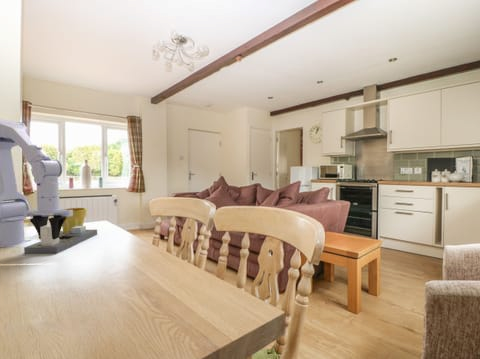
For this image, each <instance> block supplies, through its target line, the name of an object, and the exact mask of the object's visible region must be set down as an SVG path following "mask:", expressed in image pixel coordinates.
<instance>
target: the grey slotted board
mask: <svg viewBox="0 0 480 359" xmlns="http://www.w3.org/2000/svg"><path fill="white" fill-rule="evenodd" d="M97 235H98V229H86V232H84V233H81V234H71V230H70V231H67V232H63V233H60V234H59V243H58V244H55V245H53V246H41V241H39V242H38V241H37V242H35V243H33V244H30V245H27V246H25V247H23V252H24V253H23V254H24V255H50V254H51V255H53V254H54V255H55V254H57V255H58V254H59V253H61V252H63V251H66V250H68V249H70V248H72V247H74V246H76V245H79V244H81V243H83V242H85V241H87V240H88V239H89V240H90V239H91V238H93V237H95V236H97Z"/></svg>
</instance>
